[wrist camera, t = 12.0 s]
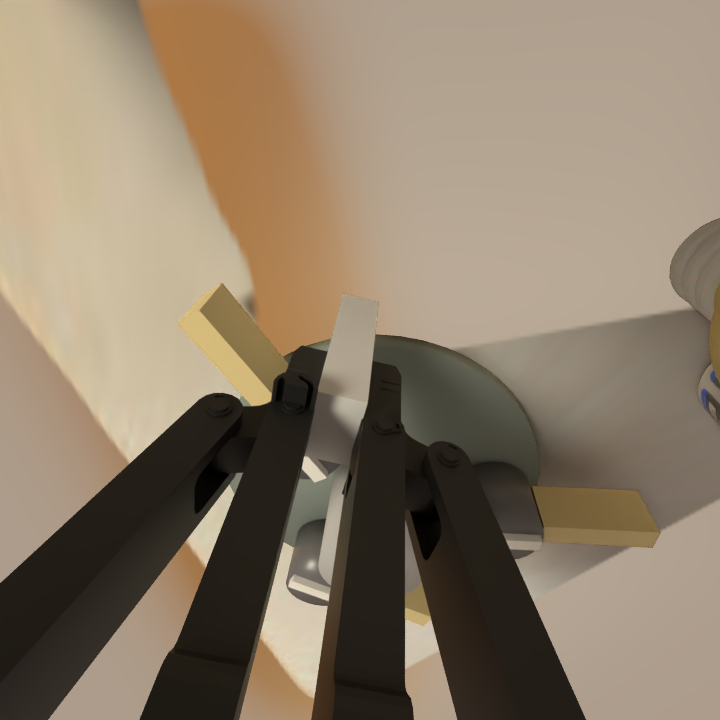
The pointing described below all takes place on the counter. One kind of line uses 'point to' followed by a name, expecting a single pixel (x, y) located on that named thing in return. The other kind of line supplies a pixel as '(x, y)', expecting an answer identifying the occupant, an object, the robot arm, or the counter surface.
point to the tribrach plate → (425, 432)
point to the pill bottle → (710, 393)
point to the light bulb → (701, 280)
